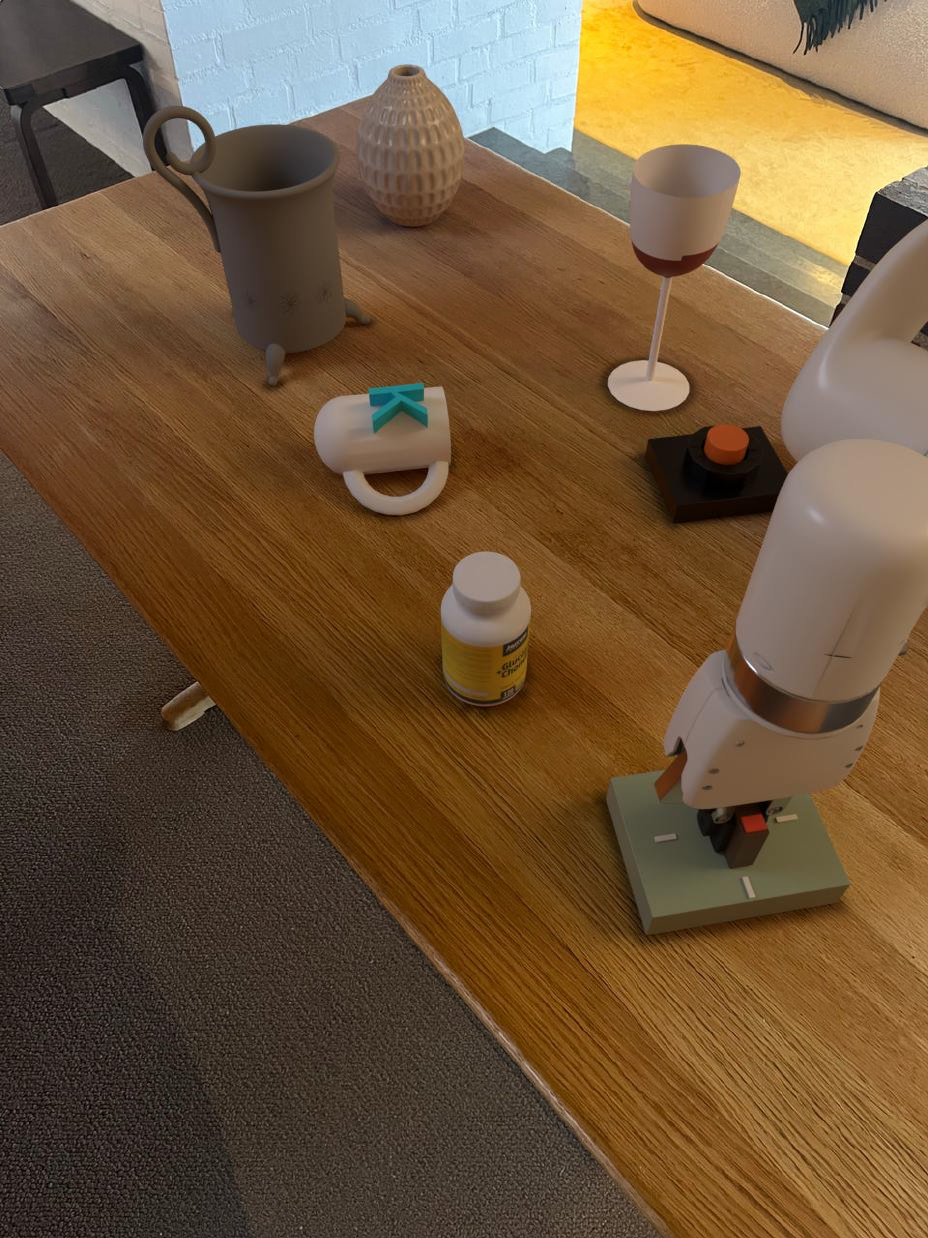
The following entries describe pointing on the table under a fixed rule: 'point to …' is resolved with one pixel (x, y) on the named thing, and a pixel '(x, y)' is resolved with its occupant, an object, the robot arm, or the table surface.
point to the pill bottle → (485, 630)
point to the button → (726, 444)
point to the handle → (746, 836)
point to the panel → (718, 861)
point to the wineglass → (673, 248)
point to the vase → (410, 148)
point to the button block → (714, 477)
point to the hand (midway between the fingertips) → (726, 828)
